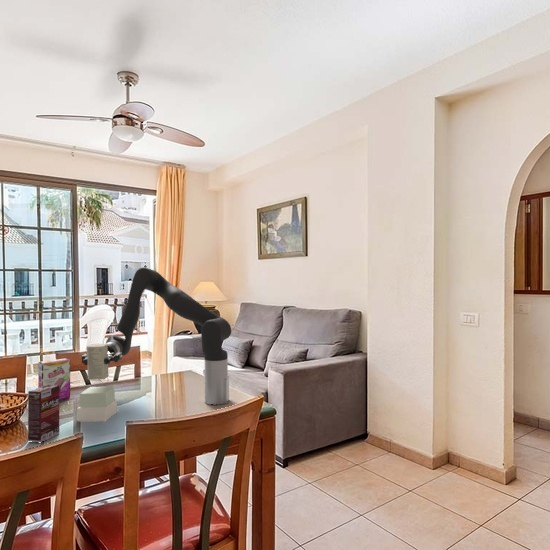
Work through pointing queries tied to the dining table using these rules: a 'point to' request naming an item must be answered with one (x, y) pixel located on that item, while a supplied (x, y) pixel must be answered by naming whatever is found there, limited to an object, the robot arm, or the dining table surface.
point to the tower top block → (97, 397)
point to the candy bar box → (55, 375)
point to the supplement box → (43, 413)
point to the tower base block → (97, 412)
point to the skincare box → (97, 362)
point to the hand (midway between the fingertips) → (95, 361)
